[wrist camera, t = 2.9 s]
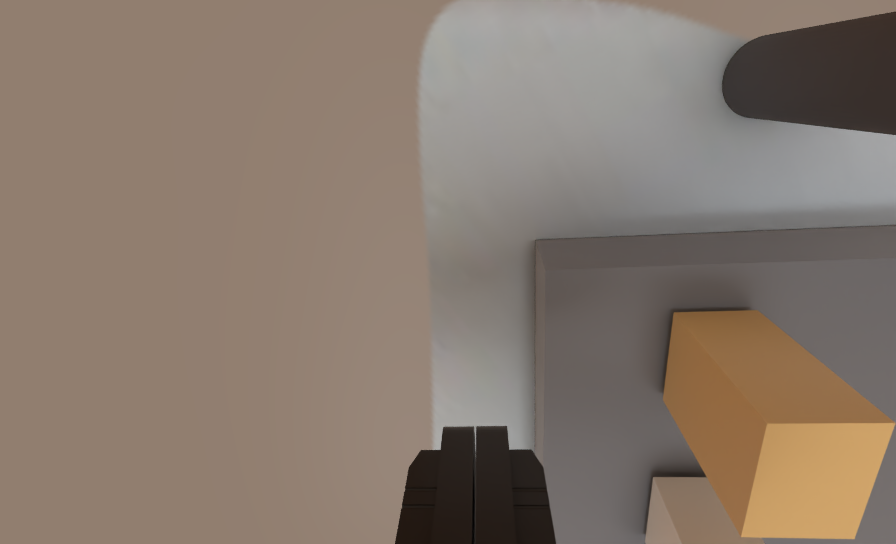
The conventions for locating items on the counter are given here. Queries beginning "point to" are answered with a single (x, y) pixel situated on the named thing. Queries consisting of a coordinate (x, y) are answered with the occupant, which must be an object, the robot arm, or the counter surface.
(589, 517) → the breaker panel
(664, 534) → the cream rectangular block
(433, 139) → the counter surface
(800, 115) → the post
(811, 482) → the block
